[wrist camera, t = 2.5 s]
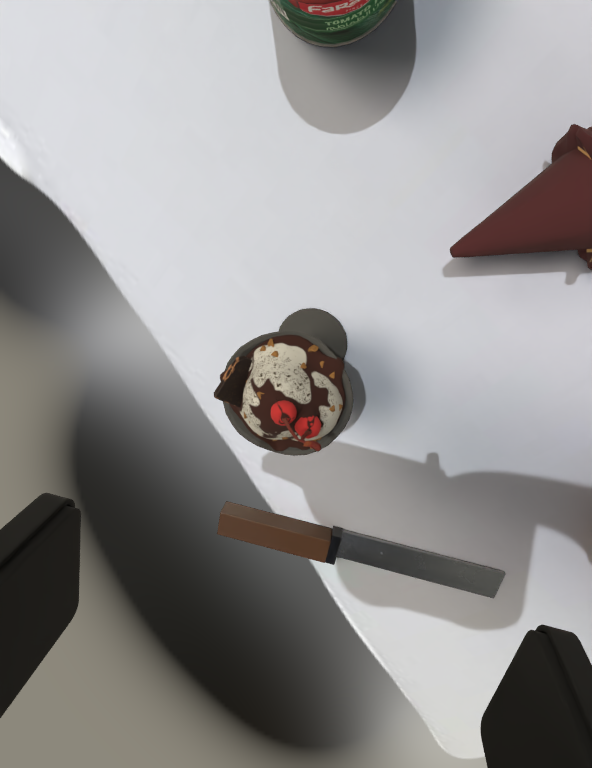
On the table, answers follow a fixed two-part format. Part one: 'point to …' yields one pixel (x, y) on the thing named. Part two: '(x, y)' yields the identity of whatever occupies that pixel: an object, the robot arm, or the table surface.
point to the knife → (353, 549)
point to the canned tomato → (332, 19)
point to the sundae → (290, 385)
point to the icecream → (543, 208)
